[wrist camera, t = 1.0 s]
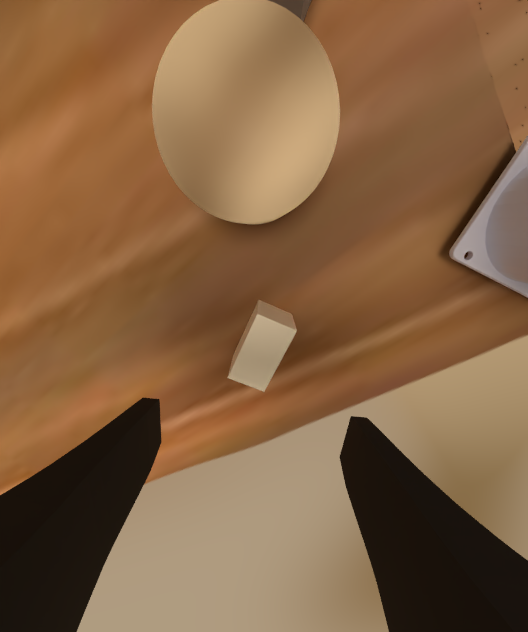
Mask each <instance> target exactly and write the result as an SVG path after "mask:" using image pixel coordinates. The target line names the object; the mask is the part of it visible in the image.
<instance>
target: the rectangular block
mask: <svg viewBox="0 0 528 632" xmlns="http://www.w3.org/2000/svg"><path fill="white" fill-rule="evenodd" d="M296 332H297V329H296V326H295V322H294V319H293V316H292V314H291V313H289V312H286V311H284V310H282V309H279V308H277V307H275V306H272V305H270V304H268V303H266V302H263V301H261V300H258V302H257V304H256V306H255V309H254V311H253V313H252V315H251V317H250V320H249V322H248V324H247V326H246V328H245V330H244V333H243V335H242V337H241V339H240V341H239V344H238V346H237V348H236V350H235V352H234V354H233V358H232V362H231V366H230V370H229V374H228V378H229V379H232V380H234V381H237V382H240V383H242V384H245V385H248V386H250V387H253V388H255V389H258V390H261V391H263V392H264V391H265V390H266V388H267V386H268V384H269V382H270V380H271V378H272V376H273V375H274V373H275V371H276V369H277V367H278V365H279V363H280V362H281V360H282V358H283V356H284V354H285V352H286V350H287V348H288V347H289V345H290V343H291V341H292V339H293V337H294V335H295V334H296Z"/></svg>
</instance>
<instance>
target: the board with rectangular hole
mask: <svg viewBox="0 0 528 632" xmlns="http://www.w3.org/2000/svg"><path fill="white" fill-rule="evenodd" d="M268 1H271V2H274V3H276V4H278V5H280V6H282V7H284V8H286V9H288V10H289V11H291V12H292V13H293V14H295V15H296V16H297V17H299V18H300V19H301V20H302V21H304V19H305V16H306V13H307V11H308V8H309V5H310V2H311V0H268Z"/></svg>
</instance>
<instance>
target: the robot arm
mask: <svg viewBox="0 0 528 632" xmlns="http://www.w3.org/2000/svg"><path fill="white" fill-rule="evenodd" d="M466 252H468V256H467V257H466V258H465V259H464V255H465V253H466ZM449 255H450V257H451V258H452V259H453V260H455V261H457V262H459V263H461V264H463V265H465V266H467V267H469V268H471V269H473V270H474V271H476V272H478V273H480V274H482V275H484V276H486V277H488V278H490V279H492V280H494V281H496V282H498V283H500V284H502V285H504V286H506V287H508V288H510V289H511V290H513V291H515V292H517V293H519V294H521V295H523V296H525V297H527V298H528V136H527V137H526V139H525V140H524V142H523V143H522V145H521V146H520V148H519V149H518V151H517V152H516V153H515V155H514V156H513V158H512V159H511V161H510V162H509V164H508V165H507V167H506V168H505V170H504V171H503V173H502V174H501V175H500V177H499V178H498V180H497V181H496V183H495V184H494V186H493V187H492V189H491V190H490V192H489V193H488V195H487V196H486V198H485V199H484V200H483V202H482V203H481V205H480V206H479V208H478V209H477V211H476V212H475V214H474V215H473V217H472V218H471V220H470V221H469V223H468V224H467V225H466V227H465V228H464V230H463V231H462V233H461V234H460V236H459V237H458V239H457V240H456V242H455V243H454V245H453V246H452V247H451V249H450V252H449ZM160 444H161V424H160V402H159V399H150V398H142V399H141V400H139V401H138V402H137V403H135V404H134V405H133V406H131V407H130V408H129V409H127V410H126V411H125V412H123V413H122V414H121V415H119V416H118V417H117V418H115V419H114V420H113V421H111V422H110V423H109V424H107V425H106V426H105V427H103V428H102V429H101V430H99V431H98V432H97V433H95V434H94V435H92V436H91V437H90V438H88V439H87V440H86V441H84V442H83V443H81V444H80V445H78V446H77V447H75V448H74V449H73V450H71V451H70V452H68V453H67V454H65V455H64V456H62V457H61V458H59V459H58V460H56V461H55V462H54V463H52V464H51V465H49V466H47V467H46V468H44V469H43V470H41V471H40V472H38V473H36V474H35V475H33V476H32V477H30V478H29V479H27V480H25V481H24V482H22V483H20V484H19V485H17V486H15V487H14V488H12V489H10V490H9V491H7V492H5V493H4V494H2V495H0V632H77V629H78V627H79V624H80V622H81V619H82V617H83V614H84V612H85V609H86V607H87V604H88V602H89V600H90V597H91V595H92V592H93V590H94V588H95V585H96V583H97V580H98V578H99V576H100V573H101V571H102V568H103V566H104V564H105V561H106V559H107V557H108V555H109V553H110V551H111V549H112V546H113V544H114V542H115V540H116V539H117V537H118V534H119V533H120V531H121V529H122V526H123V525H124V522H125V521H126V519H127V517H128V515H129V513H130V511H131V509H132V507H133V505H134V503H135V501H136V499H137V497H138V495H139V493H140V491H141V489H142V487H143V485H144V483H145V481H146V479H147V477H148V475H149V473H150V471H151V468H152V466H153V463H154V460H155V458H156V455H157V452H158V450H159V447H160ZM340 461H341V466H342V471H343V475H344V480H345V484H346V488H347V491H348V494H349V498H350V500H351V503H352V507H353V510H354V513H355V516H356V519H357V522H358V525H359V528H360V531H361V534H362V537H363V540H364V543H365V546H366V549H367V552H368V555H369V559H370V561H371V565H372V568H373V571H374V575H375V578H376V582H377V585H378V589H379V593H380V597H381V601H382V605H383V609H384V613H385V617H386V621H387V625H388V629H389V632H528V561H527V560H526V559H525V558H523V557H522V556H521V555H519V554H518V553H517V552H515V551H514V550H513V549H511V548H510V547H509V546H508V545H506V544H505V543H504V542H503V541H501V540H500V539H498V538H497V537H496V536H495V535H494V534H492V533H491V532H490V531H489V530H488V529H486V528H485V527H484V526H483V525H481V524H480V523H479V522H478V521H477V520H475V519H474V518H473V517H472V516H471V515H469V514H468V513H467V512H466V511H465V510H463V509H462V508H461V507H460V506H459V505H458V504H456V503H455V502H454V501H453V500H452V499H451V498H450V497H449V496H447V495H446V494H445V493H444V492H443V491H442V490H441V489H440V488H439V487H437V486H436V485H435V484H434V483H433V482H432V481H431V480H430V479H429V478H428V477H427V476H426V475H424V474H423V473H422V472H421V471H420V470H419V469H418V468H417V467H416V466H415V465H414V464H413V463H412V462H411V461H410V460H409V459H408V458H407V457H406V456H405V455H404V454H403V453H402V452H401V451H399V449H397V447H396V446H395V445H394V444H393V443H392V442H391V441H390V440H389V439H388V438H387V437H386V436H385V435H384V434H383V433H382V432H381V431H380V430H379V429H378V428H377V427H376V426H375V425H374V424H373V423H372V422H371V421H370V420H369V419H368V418H364V417H353V416H351V418H350V422H349V425H348V429H347V433H346V436H345V440H344V443H343V447H342V451H341V455H340Z"/></svg>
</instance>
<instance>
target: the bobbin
mask: <svg viewBox="0 0 528 632" xmlns="http://www.w3.org/2000/svg"><path fill="white" fill-rule="evenodd" d="M152 115H153V126H154V132H155V137H156V141H157V145H158V149H159V152H160V154H161V157H162V159H163V162H164V164H165V166H166V168H167V170H168V172H169V174H170V175H171V177H172V178H173V180H174V181H175V183H176V184H177V186H178V187H179V188H180V189H181V191H182V192H183V193H184V194H185V195H186V196H187V197H188V198H189V199H190V200H191V201H192V202H193V203H194V204H196V205H197V206H199V207H200V208H201V209H203V210H204V211H206V212H208V213H210V214H211V215H213V216H215V217H218V218H221V219H223V220H227V221H231V222H235V223H244V224H263V223H268V222H271V221H274V220H276V219H278V218H280V217H282V216H283V215H285V214H287V213H288V212H290V211H291V210H293V209H294V208H296V207H297V206H299V205H300V204H301V203H302V202H303V201H304V200H305V199H307V197H308V196H309V195H310V194H311V193H312V192H313V191H314V190H315V188H316V187H317V185H318V184H319V182H320V181H321V180H322V178H323V176H324V174H325V172H326V170H327V169H328V166H329V164H330V161H331V159H332V156H333V153H334V150H335V146H336V143H337V137H338V131H339V121H340V104H339V94H338V88H337V82H336V79H335V75H334V72H333V68H332V66H331V63H330V61H329V58H328V56H327V54H326V52H325V50H324V48H323V47H322V45H321V43H320V41H319V40H318V38H317V37H316V36H315V35H314V33H313V32H312V31H311V29H310V28H309V27H308V26H307V25H306V24H305V23H304V22H303V21H302V20H301V19H300V18H299V17H297V16H296V15H295V14H293V13H292V12H291V11H289V10H288V9H286V8H284V7H282V6H280V5H278V4H276V3H274V2H271V1H268V0H219V1H217V2H214V3H212V4H210V5H207V6H205V7H204V8H202V9H201V10H199V11H198V12H196V13H195V14H193V15H192V16H191V17H190V18H189V19H188V20H187V21H186V22H185V23H184V24H183V25H182V26H181V27H180V28H179V30H178V31H177V32H176V33H175V35H174V36H173V38H172V39H171V41H170V43H169V44H168V46H167V47H166V50H165V52H164V54H163V56H162V59H161V61H160V64H159V67H158V70H157V74H156V78H155V83H154V89H153V100H152Z"/></svg>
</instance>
